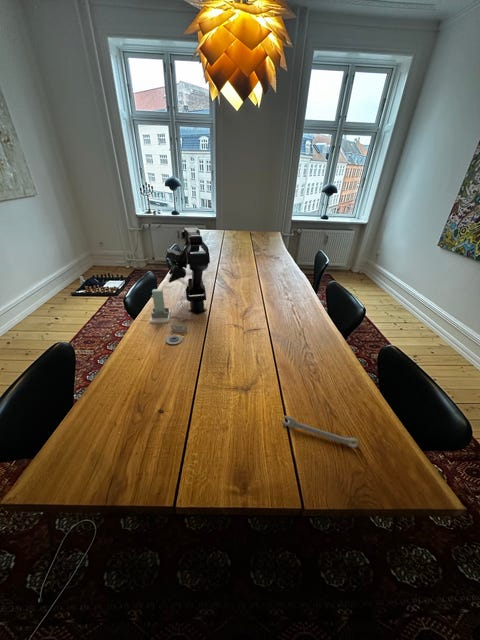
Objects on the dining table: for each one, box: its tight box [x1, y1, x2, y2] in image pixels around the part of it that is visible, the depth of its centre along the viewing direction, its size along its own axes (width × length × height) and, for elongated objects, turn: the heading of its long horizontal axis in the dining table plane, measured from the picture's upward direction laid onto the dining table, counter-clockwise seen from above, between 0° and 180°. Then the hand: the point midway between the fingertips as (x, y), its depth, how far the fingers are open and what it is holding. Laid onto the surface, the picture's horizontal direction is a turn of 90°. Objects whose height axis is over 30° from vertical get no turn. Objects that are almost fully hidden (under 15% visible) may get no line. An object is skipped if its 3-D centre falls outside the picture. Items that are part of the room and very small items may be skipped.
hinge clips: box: [149, 307, 172, 324], centre depth 117 cm, size 8×10×4 cm
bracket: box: [165, 324, 188, 345], centre depth 104 cm, size 7×10×4 cm, turn 174°
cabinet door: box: [150, 288, 166, 312], centre depth 115 cm, size 5×2×12 cm, turn 97°
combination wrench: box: [280, 415, 360, 449], centre depth 68 cm, size 4×1×20 cm
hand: (169, 277), depth 125 cm, fingers open, 9 cm apart
